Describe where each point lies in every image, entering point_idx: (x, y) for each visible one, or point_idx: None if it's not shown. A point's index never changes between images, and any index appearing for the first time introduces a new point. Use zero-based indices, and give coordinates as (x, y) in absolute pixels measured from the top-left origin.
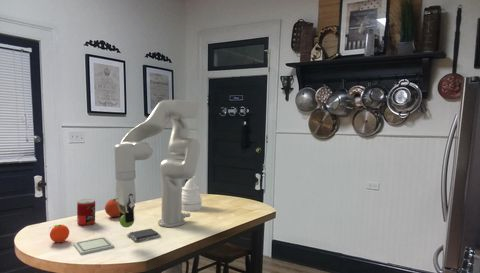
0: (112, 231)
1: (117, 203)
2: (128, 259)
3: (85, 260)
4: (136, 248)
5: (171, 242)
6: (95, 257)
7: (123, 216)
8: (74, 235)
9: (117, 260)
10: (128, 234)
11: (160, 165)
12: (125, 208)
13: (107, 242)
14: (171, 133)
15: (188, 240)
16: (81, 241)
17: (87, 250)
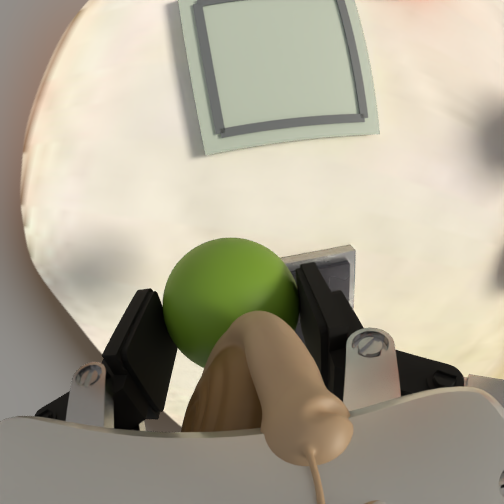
0: (445, 194)
1: (280, 404)
2: (44, 208)
3: (97, 30)
4: (149, 257)
5: (178, 376)
6: (108, 64)
7: (197, 306)
8: (460, 43)
9: (45, 164)
10: (343, 253)
11: None
12: (199, 401)
13: (268, 124)
14: None
15: (182, 410)
16: (356, 16)
17: (190, 20)
